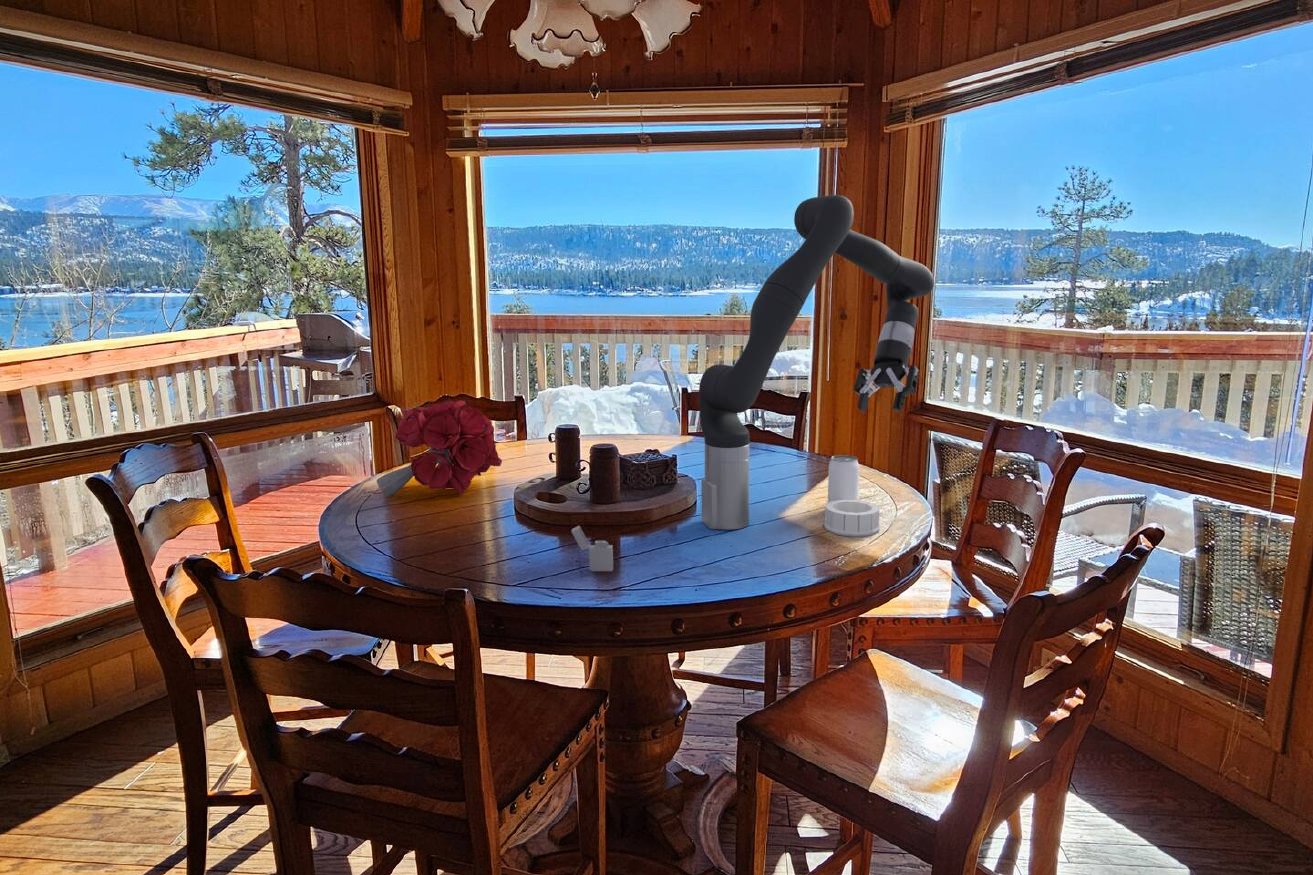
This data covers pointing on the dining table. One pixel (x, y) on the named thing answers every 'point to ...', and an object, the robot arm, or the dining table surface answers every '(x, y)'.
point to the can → (843, 478)
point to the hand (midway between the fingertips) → (878, 410)
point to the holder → (851, 518)
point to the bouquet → (444, 447)
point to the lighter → (595, 552)
